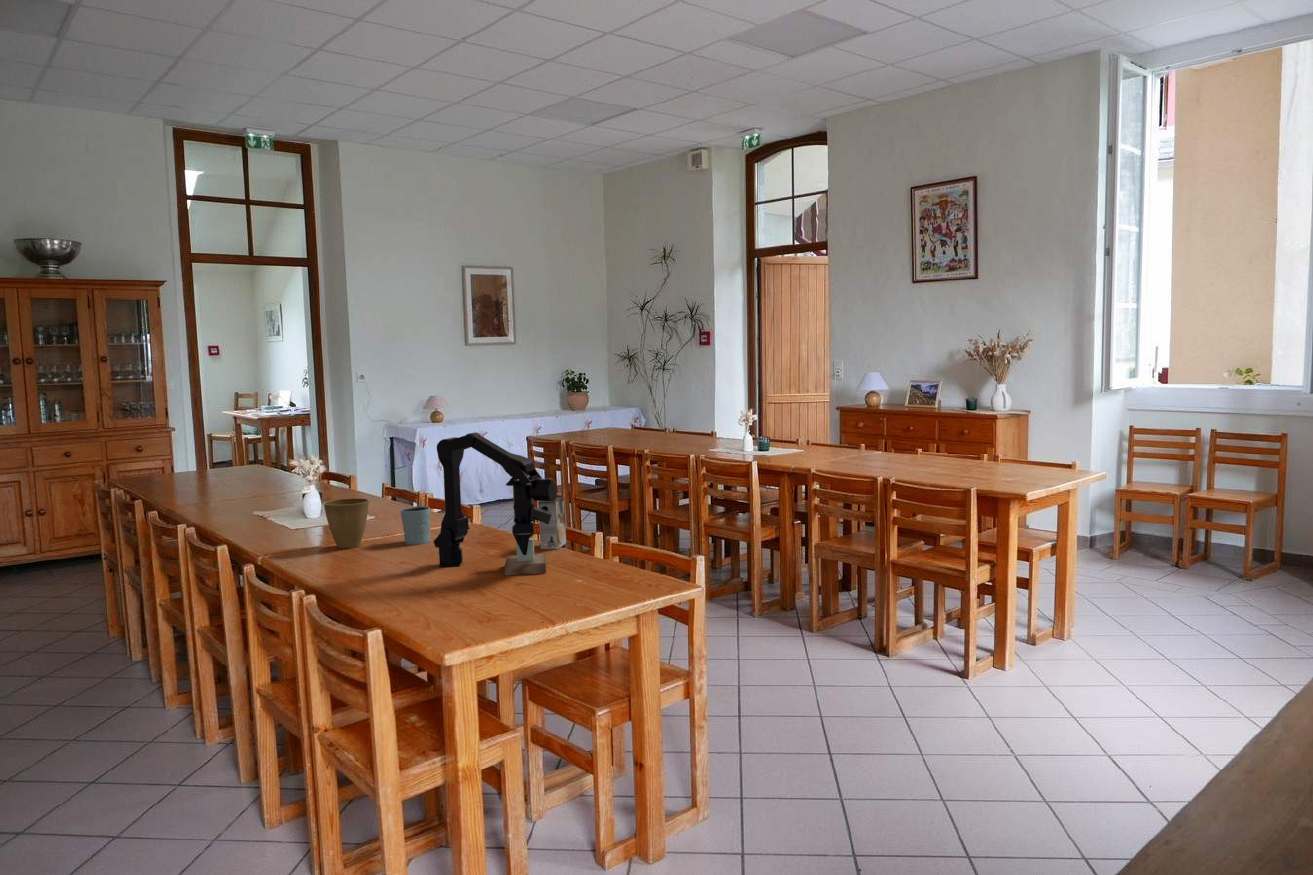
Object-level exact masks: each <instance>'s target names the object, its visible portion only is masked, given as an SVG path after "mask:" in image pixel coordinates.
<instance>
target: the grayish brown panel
mask: <svg viewBox="0 0 1313 875" xmlns="http://www.w3.org/2000/svg"><path fill="white" fill-rule="evenodd" d="M547 563H548V562H547V553H538V554H534V561H525V562H517V555H507V556H506V559H505V563H504V576H517V575H534V574H536V575H537V574H546V573H547Z"/></svg>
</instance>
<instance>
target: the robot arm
mask: <svg viewBox="0 0 1313 875" xmlns="http://www.w3.org/2000/svg"><path fill="white" fill-rule="evenodd" d="M470 448H472V449H473V450H475V451H477V452H478V453H480V454H482V455H483V456H485V457H487V458H488V459H490V460H492V461H493V462H495V463H497V464H498V465H499V466H501V467H502V469H503V470H504V471H505V473H506V474H507V475H508V476H510V477H511V478H510V479H509V481H508V482H506V483H505V486H507V487H512V496H513V497H512V498H513V499H512V500H513V506H512V507H513V508H512V509H513V517H514V518H513V524H512V526H511V527H512V528H511V530H512V535H513V538H514V540H515V542H516V541H517V543H518V545H519V548H520V550H521V552H522V554H523V555H527V549H528V542H529V538H532V536H533V535H534V533H535V526H536V521H538V522H539V521H541V522H544V523H545V524H549V523H550V520H551V517H552V512H551V511H549V510H548V506H545V505H543V506H542V507H541V508H539V507H536V506H535V503H534V501H535V502H540V501H555V499H556V497H558V487H557V485H556V483H555V482H554V478H553V477H551V478H550V477H549V478H543V477H542V476H541V474H540V473H539V472H538V470H537V469H536V467H535V465H534V461H532V459H530V458H528V457H525V456H523V455H520V454H516V453H511V452H510V451H508V450H506V449H504V448H503V447H501V446H499V445H497V444H496V443H494V442H493V441H491V440H489V439H487V438H486V437H484V436H482V435H481V433H479V432H475V431H474V432H470V433H466V434H465V435H462V436H460V437H456V436H454V437H449V438H443V439H441V440H439V442H438V443H437V444H436V453H437V458H438V460H439V463H440V465H441V466H442V469H443V488H444V494H443V495H444V508H445V509H444V515H443V518H442V520H441V524H440V530H439V531H440V533H439V534H438V535H437V536H436V537H435V539H434V540H433V544H434V547H435V548H438V558H439V559H438V560H439V564H438V567H440V568H442V567H459V566H461V564H462V563H463V560H464V559H463V558H464V555H463V548H462V547H461V544H462V543H464V540H465V537H466V536H467V535H468V531H469V530H470V526H469V520H470V519H469V516H465V515H464V514H463V511H462V497H461V476H460V474H461V473H460V469H461V468H460V466H461V463H462V460H463V459H464V453H465V450H467V449H470ZM533 500H534V501H533Z"/></svg>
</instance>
